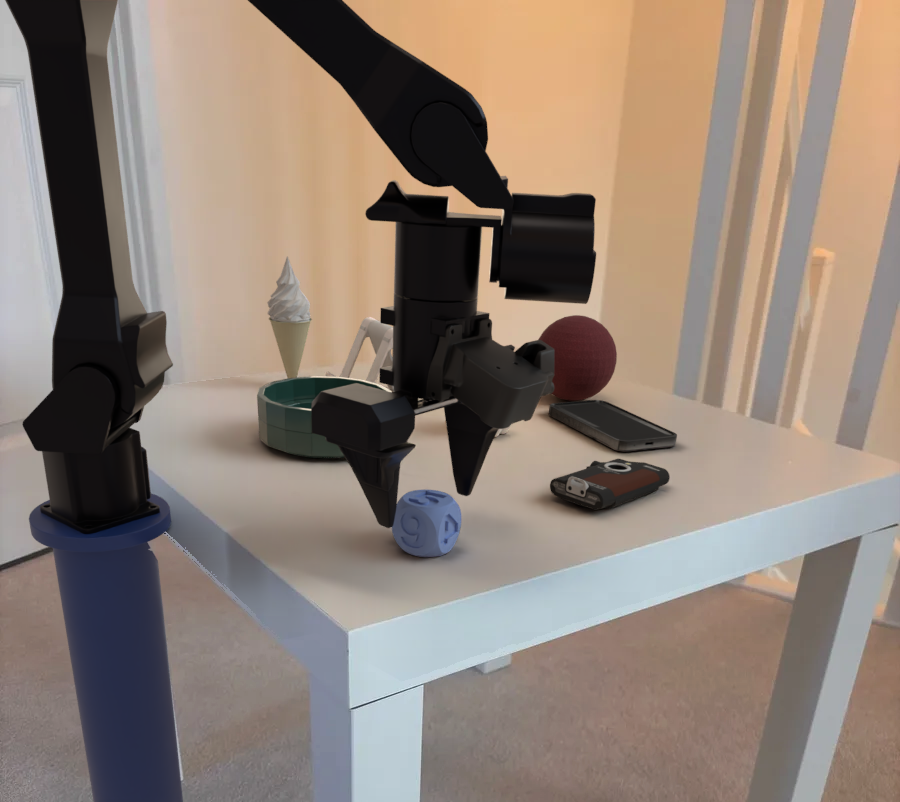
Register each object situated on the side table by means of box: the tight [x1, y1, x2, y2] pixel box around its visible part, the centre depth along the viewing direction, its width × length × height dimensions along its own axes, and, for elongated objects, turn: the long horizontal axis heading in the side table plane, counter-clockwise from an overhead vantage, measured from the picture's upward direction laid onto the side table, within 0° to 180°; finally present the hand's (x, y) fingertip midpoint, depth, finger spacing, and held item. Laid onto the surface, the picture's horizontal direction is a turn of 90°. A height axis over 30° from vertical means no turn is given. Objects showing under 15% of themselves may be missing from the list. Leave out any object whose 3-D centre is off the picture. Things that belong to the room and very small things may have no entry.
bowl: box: [256, 375, 393, 459], centre depth 91 cm, size 13×13×5 cm
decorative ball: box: [537, 314, 618, 402], centre depth 110 cm, size 10×10×10 cm
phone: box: [548, 399, 678, 453], centre depth 101 cm, size 8×1×15 cm
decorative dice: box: [391, 488, 462, 558], centre depth 69 cm, size 4×4×4 cm
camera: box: [549, 458, 671, 511], centre depth 83 cm, size 6×3×11 cm
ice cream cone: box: [266, 256, 313, 379], centre depth 107 cm, size 5×5×15 cm
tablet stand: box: [325, 316, 395, 392], centre depth 107 cm, size 9×8×8 cm
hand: (426, 509), depth 69 cm, fingers open, 9 cm apart
